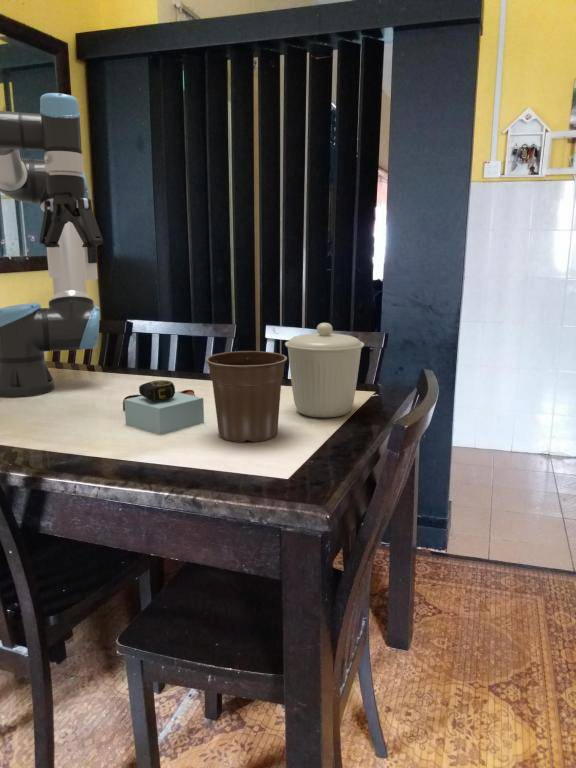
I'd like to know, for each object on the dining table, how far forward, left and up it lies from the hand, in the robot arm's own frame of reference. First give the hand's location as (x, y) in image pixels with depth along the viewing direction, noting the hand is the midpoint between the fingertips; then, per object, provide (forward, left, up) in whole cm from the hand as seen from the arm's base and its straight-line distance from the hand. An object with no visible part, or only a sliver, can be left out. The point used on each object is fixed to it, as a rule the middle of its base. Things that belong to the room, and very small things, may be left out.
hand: (72, 278), depth 129 cm
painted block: (+19, +8, -32) cm, 38 cm away
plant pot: (+39, +14, -31) cm, 52 cm away
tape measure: (+19, +6, -26) cm, 33 cm away
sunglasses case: (+9, +16, -32) cm, 37 cm away
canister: (+41, +38, -31) cm, 64 cm away
